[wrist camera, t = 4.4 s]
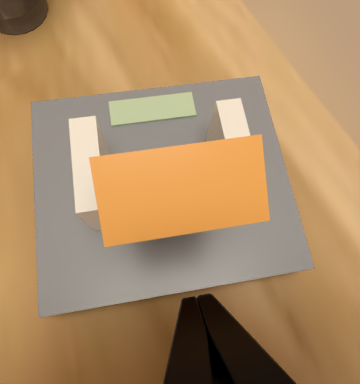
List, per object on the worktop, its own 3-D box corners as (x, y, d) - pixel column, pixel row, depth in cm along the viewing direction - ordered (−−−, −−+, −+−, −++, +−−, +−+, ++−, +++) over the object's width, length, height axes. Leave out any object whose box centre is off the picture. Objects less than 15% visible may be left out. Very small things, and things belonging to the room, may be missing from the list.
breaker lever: (207, 186, 17) (270, 220, 9) (124, 199, 17) (104, 247, 8) (202, 143, 17) (261, 134, 9) (116, 154, 17) (88, 157, 8)
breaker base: (295, 271, 19) (356, 261, 13) (55, 314, 18) (-1, 325, 12) (249, 98, 22) (280, 28, 16) (45, 123, 21) (-2, 56, 15)
